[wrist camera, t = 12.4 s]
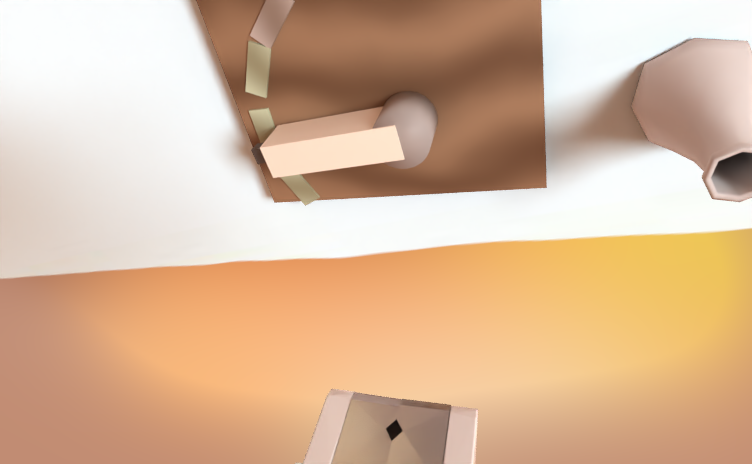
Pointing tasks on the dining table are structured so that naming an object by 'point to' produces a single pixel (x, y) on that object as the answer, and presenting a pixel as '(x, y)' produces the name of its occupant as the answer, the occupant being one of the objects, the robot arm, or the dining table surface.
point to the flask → (703, 110)
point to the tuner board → (392, 85)
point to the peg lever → (353, 138)
